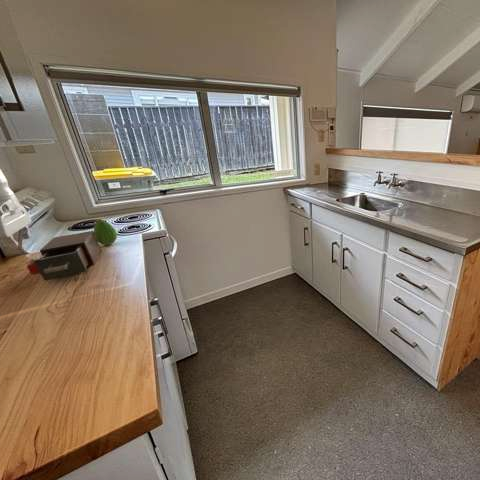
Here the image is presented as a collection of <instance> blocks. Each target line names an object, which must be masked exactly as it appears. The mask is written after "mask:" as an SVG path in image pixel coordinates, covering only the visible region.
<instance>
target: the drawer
mask: <svg viewBox="0 0 480 480" xmlns="http://www.w3.org/2000/svg"><path fill="white" fill-rule="evenodd" d="M34 262H35V264H36V266H37V268H38V270H39V271H40V272H39V273H40V275H41V277H42V279H43V281H44V282H46V281H51V280H56V279H59V278H65V277H69V276H74V275H77V274H82V273H86V272H88V268H87V267H88V266H87V265H88V264H89V262H90V259H89V257H88V255H87V253H86V251H85V248H84V246H83V245H77V246H72V247H67V248H61V249H56V250H51V251H47V252H46V253H45V254H44V255H43V256H42V255H41V256H40V257H39V258H37V259H34Z"/></svg>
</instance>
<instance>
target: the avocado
mask: <svg viewBox="0 0 480 480" xmlns="http://www.w3.org/2000/svg"><path fill="white" fill-rule="evenodd" d="M93 231H94V234H95V236H96V239H97V241H98V243H99V244H101V245H103V246H110V245H112V244H113V243H115V242H116V240H117V238H118V233H117V231H116V229H115V228H114V226H112V225H111V223H109V222H108V221H107V220H104V219H98V220H96V221H95V223H94V227H93Z"/></svg>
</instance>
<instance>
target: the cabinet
mask: <svg viewBox="0 0 480 480" xmlns="http://www.w3.org/2000/svg"><path fill="white" fill-rule="evenodd" d="M77 245H83V246H84V248H85V251H86V253H87V255H88V257H89V259H90V262H89V264H88V265H87V267H89V266H94V265H96V263H97V261H98V259H99V257H100V255H101V253H102V252H103V251H102V248H101V246H100V243H99V242H98V241H97V239H96V236H95V234H94V230H89V231H83V232H78V233H77V232H76V233H73V234H66V235H65V234H64V235H59V236H55V237H53V238H51V239H50V240H49V241H48V242H47V243H46V244H45V245H43V247H41V248H40V249H39V252H40V254H41V257H42V256H43V255H44V254H45V253H46V252H47V251H51V250H56V249H61V248H67V247H72V246H77Z"/></svg>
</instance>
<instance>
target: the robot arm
mask: <svg viewBox="0 0 480 480" xmlns="http://www.w3.org/2000/svg"><path fill="white" fill-rule="evenodd" d="M32 222H33V221H32V218H31V216H30V214H29V213H28V211H27V209H26V208H25V207H24V206H23V205H22V204H21V203H20V201H19V200H18V198H17V196H16V194H15V192H14V191H13V190H12V189H11V188H10V186H9V182H8V179H7V177H6V176H5V174H4V173H3V171H2V169H1V168H0V240H2V241H3V242H4V243H6V244H8V246H9V248H10V249H15V248H18V247H19V246H20V243H19V241H18V240H15V239H14V235H15V234H16V233H17V232H19V231H20V236H21V239H22V240H28V239H30V238H31V237H32V236H31V233H30V228H29V226H28V225H30V224H31V223H32Z"/></svg>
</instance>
